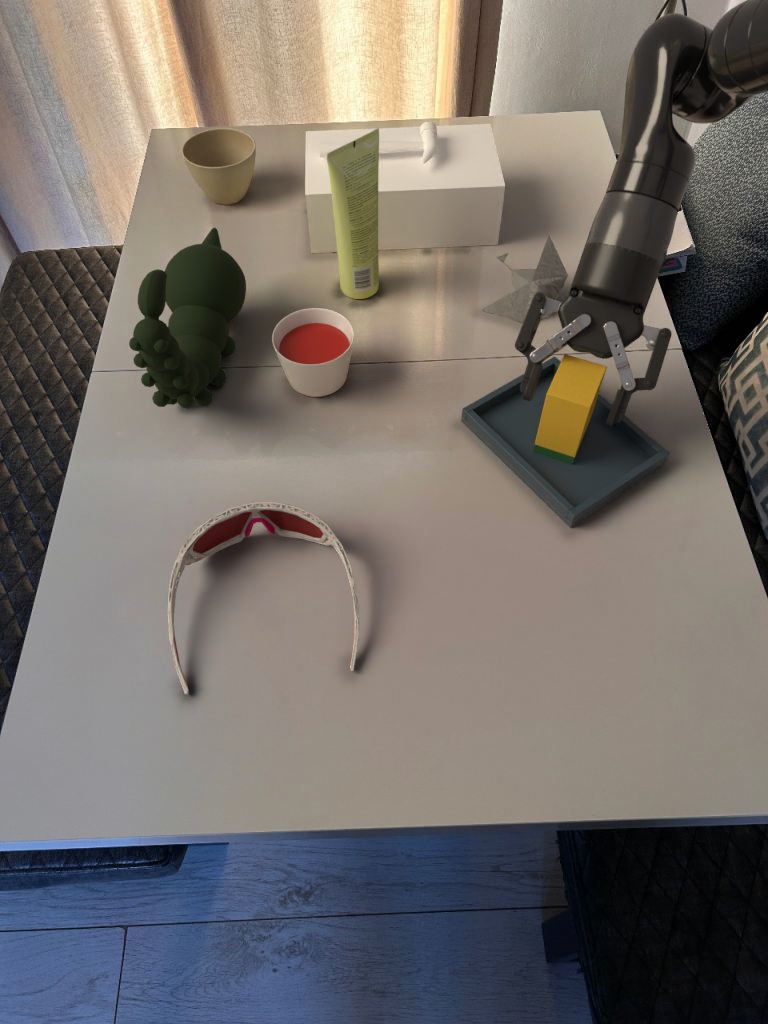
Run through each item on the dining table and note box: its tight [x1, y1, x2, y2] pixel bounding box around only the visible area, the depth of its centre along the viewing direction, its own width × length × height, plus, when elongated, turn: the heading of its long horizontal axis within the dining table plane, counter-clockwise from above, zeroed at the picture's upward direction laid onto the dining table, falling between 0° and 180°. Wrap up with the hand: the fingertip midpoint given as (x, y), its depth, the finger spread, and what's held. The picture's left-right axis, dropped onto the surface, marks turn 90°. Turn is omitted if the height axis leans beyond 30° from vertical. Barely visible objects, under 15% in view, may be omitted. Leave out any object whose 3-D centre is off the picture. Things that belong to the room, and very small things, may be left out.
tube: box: [327, 127, 380, 300], centre depth 90 cm, size 6×5×20 cm
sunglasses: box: [167, 501, 360, 695], centre depth 72 cm, size 17×17×5 cm
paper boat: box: [481, 234, 569, 324], centre depth 94 cm, size 12×6×9 cm
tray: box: [460, 356, 671, 529], centre depth 82 cm, size 18×14×2 cm
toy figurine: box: [128, 227, 247, 409], centre depth 84 cm, size 9×19×25 cm
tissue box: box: [304, 121, 506, 254], centre depth 102 cm, size 14×25×11 cm, turn 93°
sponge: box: [533, 353, 608, 464], centre depth 79 cm, size 4×6×9 cm
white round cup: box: [271, 307, 355, 398], centre depth 87 cm, size 9×9×6 cm
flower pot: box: [181, 127, 257, 206], centre depth 107 cm, size 10×10×7 cm
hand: (567, 413), depth 77 cm, fingers open, 8 cm apart
